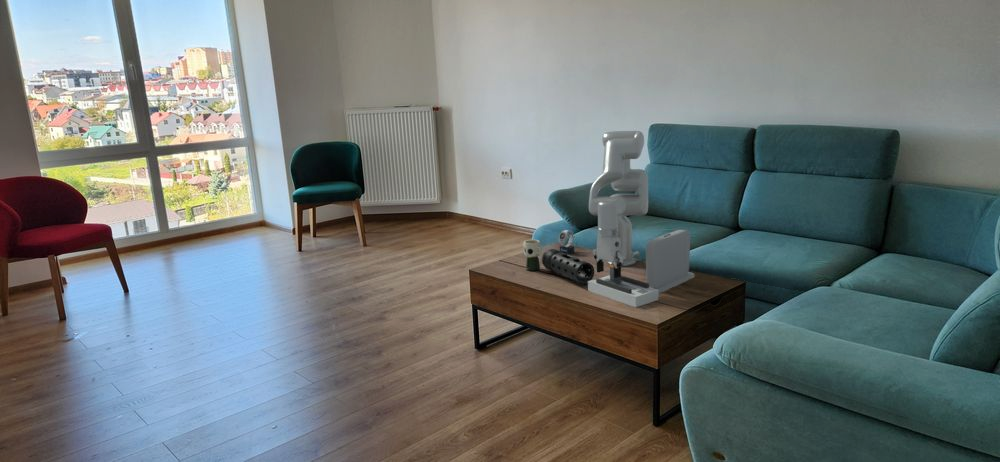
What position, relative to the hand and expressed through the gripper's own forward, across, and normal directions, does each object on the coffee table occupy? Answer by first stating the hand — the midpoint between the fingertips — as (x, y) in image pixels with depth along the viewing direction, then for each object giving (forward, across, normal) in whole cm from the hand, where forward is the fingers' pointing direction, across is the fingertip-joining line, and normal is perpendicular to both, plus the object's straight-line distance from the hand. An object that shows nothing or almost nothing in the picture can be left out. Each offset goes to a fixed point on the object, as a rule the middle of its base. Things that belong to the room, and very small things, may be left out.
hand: (608, 274), depth 261 cm
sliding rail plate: (+3, -7, 0) cm, 8 cm away
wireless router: (+7, -8, -25) cm, 27 cm away
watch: (+7, +56, -25) cm, 61 cm away
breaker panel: (+7, -8, 0) cm, 10 cm away
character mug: (+7, +44, +4) cm, 45 cm away
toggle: (+2, -3, 0) cm, 4 cm away
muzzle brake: (+7, +24, +1) cm, 26 cm away
